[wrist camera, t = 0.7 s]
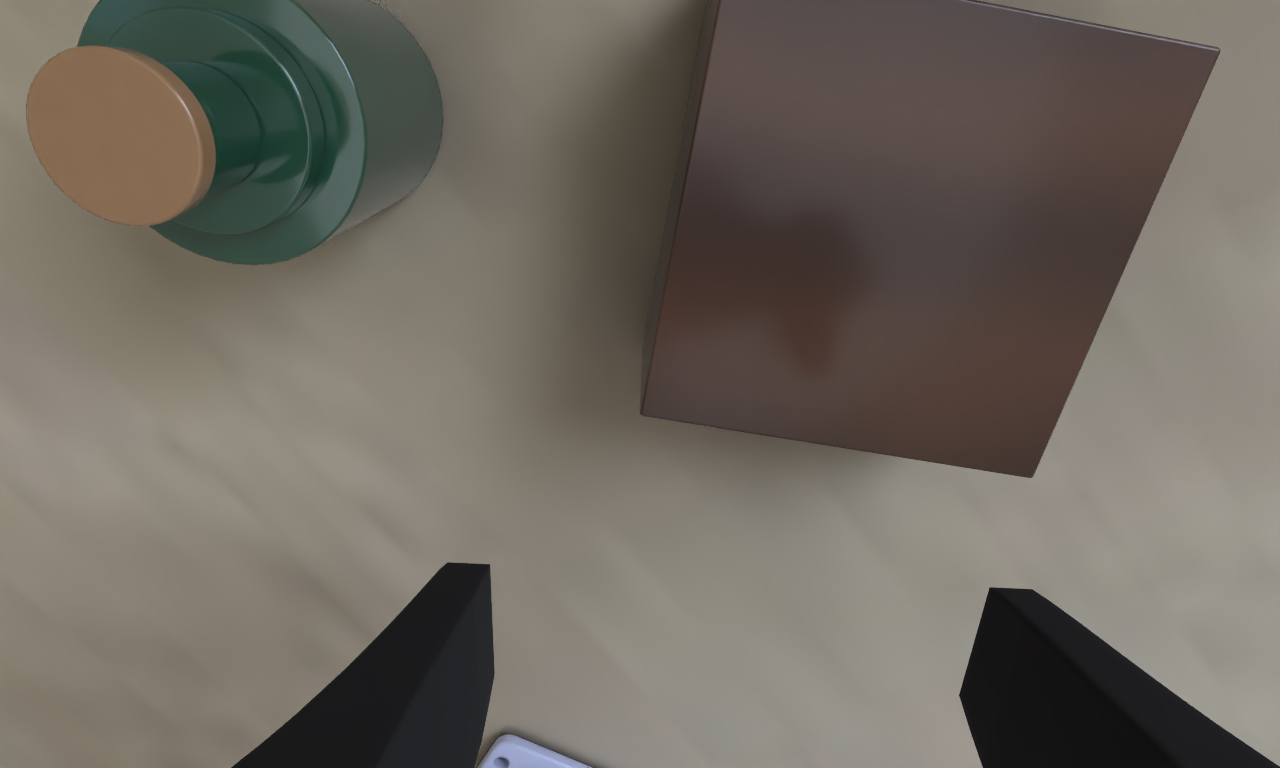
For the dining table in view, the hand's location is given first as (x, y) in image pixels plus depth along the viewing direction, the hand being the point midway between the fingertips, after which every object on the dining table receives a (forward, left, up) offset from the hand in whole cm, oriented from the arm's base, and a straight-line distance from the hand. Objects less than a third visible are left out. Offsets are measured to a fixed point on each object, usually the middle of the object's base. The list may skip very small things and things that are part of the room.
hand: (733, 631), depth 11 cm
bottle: (+1, +11, -10) cm, 15 cm away
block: (+5, -1, -10) cm, 12 cm away
